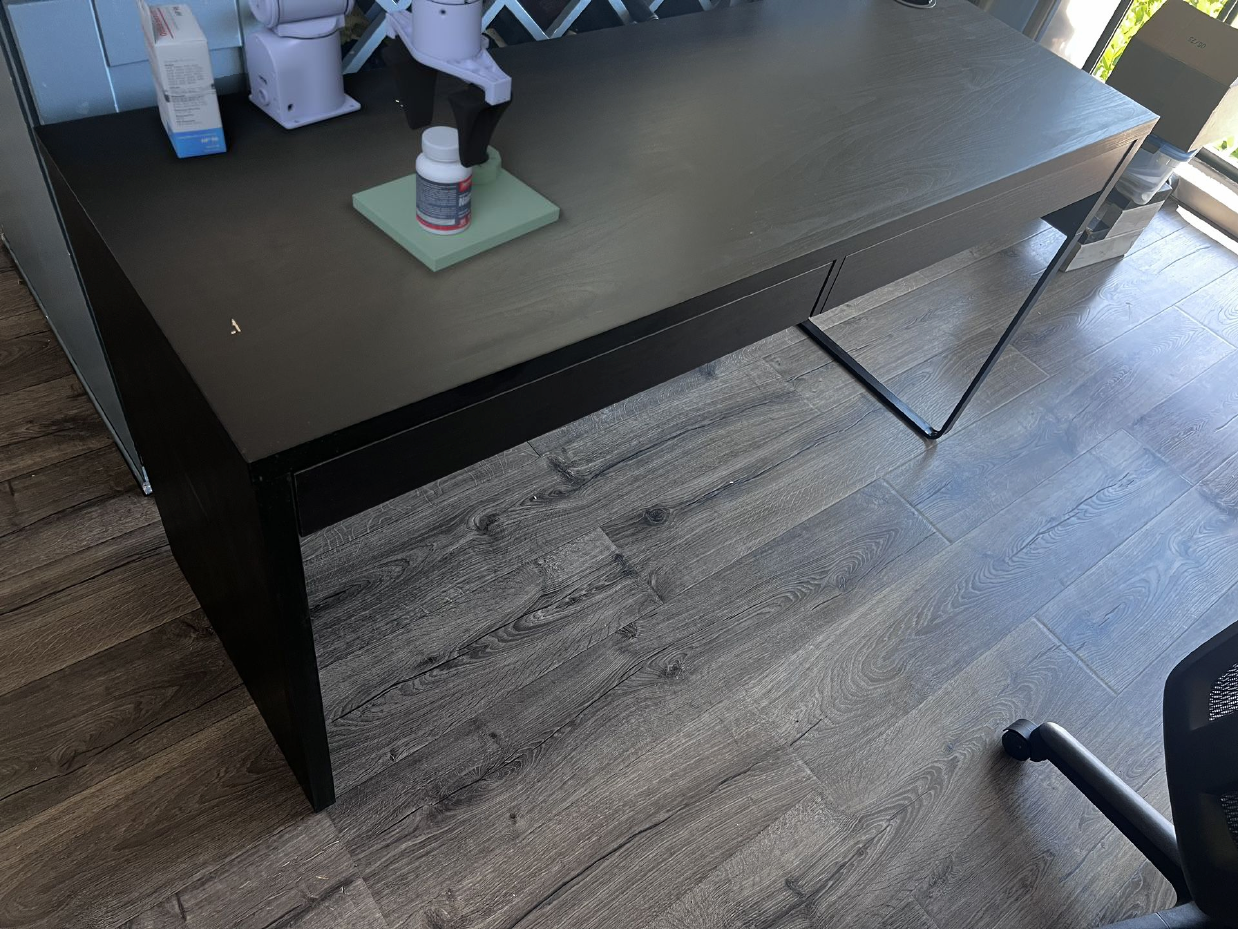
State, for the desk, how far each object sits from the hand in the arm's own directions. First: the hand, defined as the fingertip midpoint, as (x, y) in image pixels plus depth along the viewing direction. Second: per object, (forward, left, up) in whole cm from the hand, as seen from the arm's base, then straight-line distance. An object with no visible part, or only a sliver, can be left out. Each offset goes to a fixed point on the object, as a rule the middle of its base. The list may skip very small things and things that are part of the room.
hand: (445, 144), depth 86 cm
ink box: (-11, +28, -10) cm, 32 cm away
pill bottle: (0, 0, -8) cm, 8 cm away
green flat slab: (+3, +2, -10) cm, 10 cm away
